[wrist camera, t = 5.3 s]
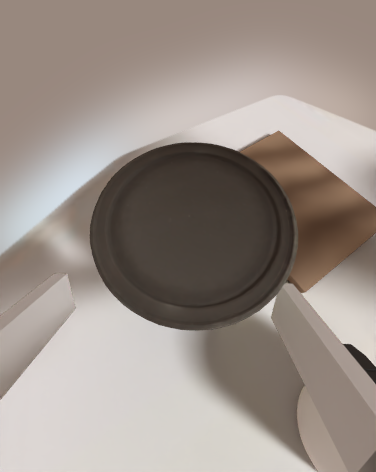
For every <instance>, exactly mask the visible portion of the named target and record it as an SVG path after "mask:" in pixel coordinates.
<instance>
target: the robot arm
mask: <svg viewBox="0 0 376 472" xmlns="http://www.w3.org/2000/svg"><path fill="white" fill-rule="evenodd" d="M75 309H76V306H75V302H74V298H73V295H72V291H71V287H70V283H69V279H68V275H67V274H64V273H55V274H53V275H52V276H51V277H49V278H48V279H47V280H46V281H44V282H43V283H42V284H40V285H39V286H38V287H37V288H35V289H34V290H33V291H31V292H30V293H29V294H28V295H26V296H25V297H24V298H23V299H21V300H20V301H19V302H17V303H16V304H15V305H14V306H12V307H11V308H10V309H8V310H7V311H6V312H5V313H3V314H2V315H1V316H0V400H1V399H2V398H3V396H4V395H5V394H6V393H7V391H8V390H9V389H10V388H11V387H12V385H13V384H14V383H15V382H16V381H17V379H18V378H19V377H20V376H21V374H22V373H23V372H24V371H25V370H26V368H27V367H28V366H29V365H30V364H31V362H32V361H33V360H34V359H35V357H36V356H37V355H38V354H39V353H40V351H41V350H42V349H43V348H44V347H45V345H46V344H47V343H48V342H49V340H50V339H51V338H52V337H53V336H54V334H55V333H56V332H57V331H58V330H59V328H60V327H61V326H62V325H63V323H64V322H65V321H66V320H67V319H68V317H69V316H70V315H71V314H72V313H73V311H74V310H75ZM271 319H272V321H273V323H274V325H275V327H276V329H277V331H278V333H279V335H280V337H281V339H282V341H283V343H284V345H285V347H286V349H287V351H288V353H289V355H290V357H291V359H292V361H293V363H294V365H295V367H296V369H297V371H298V373H299V375H300V377H301V379H302V381H303V383H304V385H305V387H306V389H307V391H308V393H309V395H310V397H311V399H312V401H313V403H314V405H315V407H316V409H317V411H318V413H319V415H320V417H321V419H322V421H323V423H324V425H325V427H326V429H327V431H328V433H329V435H330V437H331V439H332V441H333V443H334V445H335V447H336V449H337V451H338V453H339V455H340V457H341V459H342V461H343V463H344V465H345V467H346V469H347V471H348V472H376V367H375V366H374V365H373V364H372V362H371V361H370V360H369V359H368V358H367V357H366V356H365V355H364V354H363V353H361V352H360V351H359V350H357V349H356V348H355V347H354V346H352V345H351V344H342V343H341V341H340V340H339V339H338V338H337V337H336V335H335V334H334V333H333V332H332V331H331V329H330V328H329V327H328V326H327V325H326V323H325V322H324V321H323V320H322V318H321V317H320V316H319V315H318V314H317V312H316V311H315V310H314V309H313V308H312V306H311V305H310V304H309V303H308V301H307V300H306V299H305V298H304V297H303V295H302V294H301V293H300V292H299V291H298V289H297V288H296V287H295V286H294V285H293V284H291V283H285V284H284V285H283V287H282V288H281V290H280V291H279V292H278V294H277V296H276V300H275V304H274V308H273V312H272V316H271Z"/></svg>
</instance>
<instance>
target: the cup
mask: <svg viewBox="0 0 376 472" xmlns="http://www.w3.org/2000/svg"><path fill="white" fill-rule="evenodd" d="M297 422H298V428H299V433H300V436H301V440H302V443H303V445H304V448H305V450H306V452H307V454H308V456H309V458H310V460H311V461H312V463H313V465H314V466H315V468H316V469H317V471H318V472H348V471H347V469H346V467H345V465H344V463H343V461H342V459H341V457H340V455H339V453H338V451H337V449H336V447H335V445H334V443H333V441H332V439H331V437H330V435H329V433H328V431H327V429H326V427H325V425H324V423H323V421H322V419H321V417H320V415H319V413H318V411H317V409H316V407H315V405H314V403H313V401H312V399H311V397H310V395H309V393H308V391H307V389H306V387H305V386H304V387H303V389H302V391H301V393H300V396H299V399H298V405H297Z"/></svg>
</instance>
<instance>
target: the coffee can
mask: <svg viewBox="0 0 376 472" xmlns="http://www.w3.org/2000/svg"><path fill="white" fill-rule="evenodd" d="M90 244H91V249H92V255H93V258H94V261H95V264H96V267H97V270H98V272H99V274H100V276H101V278H102V279H103V281H104V283H105V285H106V286H107V288H108V289H109V290H110V291H111V293H112V294H113V295H114V296H115V297H116V298H117V299H118V300H119V301H120V302H121V303H122V304H123V305H124V306H126V307H127V308H128V309H130V310H131V311H133V312H134V313H136V314H138V315H139V316H141V317H143V318H145V319H147V320H149V321H151V322H154V323H156V324H158V325H162V326H166V327H170V328H175V329H180V330H210V329H216V328H221V327H225V326H229V325H232V324H235V323H237V322H239V321H242V320H244V319H246V318H247V317H249V316H251V315H253V314H254V313H256V312H258V311H259V310H261V309H262V308H263V307H264V306H265V305H267V304H268V303H269V302H270V301H271V300H272V299H273V298H274V297H275V296H276V295H277V294H278V292H279V291H280V290H281V288H282V287H283V285H284V284H285V282H286V281H287V279H288V277H289V275H290V273H291V271H292V268H293V265H294V262H295V259H296V254H297V248H298V227H297V221H296V217H295V213H294V210H293V207H292V204H291V202H290V200H289V198H288V196H287V194H286V192H285V191H284V189H283V188H282V186H281V185H280V184H279V182H278V181H277V180H276V179H275V177H274V176H273V175H272V174H271V173H270V172H269V171H268V170H266V169H265V168H264V167H263V166H262V165H260V164H259V163H258V162H256V161H255V160H253V159H251V158H250V157H248V156H246V155H244V154H242V153H240V152H238V151H235V150H233V149H230V148H226V147H223V146H219V145H214V144H208V143H177V144H172V145H167V146H163V147H159V148H156V149H153V150H151V151H149V152H147V153H144V154H142V155H141V156H139V157H137V158H135V159H134V160H132V161H130V162H129V163H128V164H126V165H125V166H124V167H122V168H121V169H120V170H119V171H118V172H117V173H116V174H115V175H114V176H113V177H112V178H111V180H110V181H109V182H108V184H107V185H106V187H105V188H104V190H103V191H102V193H101V195H100V197H99V199H98V201H97V204H96V206H95V209H94V212H93V216H92V220H91V225H90Z"/></svg>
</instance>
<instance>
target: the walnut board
mask: <svg viewBox="0 0 376 472" xmlns="http://www.w3.org/2000/svg"><path fill="white" fill-rule="evenodd" d="M240 153H242V154H244V155H246V156H248V157H250V158H251V159H253V160H255V161H256V162H258V163H259V164H260V165H262V166H263V167H264V168H265V169H266V170H268V171H269V172H270V173H271V174H272V175H273V176H274V177H275V179H276V180H277V181H278V182H279V184H280V185H281V186H282V188H283V189H284V191H285V192H286V194H287V196H288V198H289V200H290V202H291V204H292V207H293V210H294V213H295V217H296V221H297V227H298V248H297V254H296V259H295V262H294V265H293V268H292V271H291V273H290V275H289V277H288V279H287V280H288V281H289V282H290V283H291V284H293V285H294V286H295V287H296V288H297V289H298V291H299V292H300V293H304V292H306V291H308V290H309V289H310V288H311V287H312V286H313V285H315V284H316V283H317V282H318V281H319V280H321V279H322V278H323V277H324V276H325V275H326V274H328V273H329V272H330V271H331V270H332V269H334V268H335V267H336V266H337V265H338V264H340V263H341V262H342V261H343V260H344V259H345V258H347V257H348V256H349V255H350V254H351V253H353V252H354V251H355V250H356V249H357V248H358V247H360V246H361V245H362V244H363V243H364V242H366V241H367V240H368V239H369V238H370V237H371V236H373V235H374V234H375V233H376V207H375V206H374V205H373V204H371V203H370V202H369V201H367V200H366V199H365V198H364V197H362V196H361V195H360V194H359V193H357V192H356V191H355V190H354V189H352V188H351V187H350V186H348V185H347V184H346V183H345V182H343V181H342V180H341V179H340V178H338V177H337V176H336V175H334V174H333V173H332V172H331V171H329V170H328V169H327V168H326V167H324V166H323V165H322V164H321V163H319V162H318V161H317V160H315V159H314V158H313V157H312V156H310V155H309V154H308V153H307V152H305V151H304V150H303V149H302V148H300V147H299V146H298V145H296V144H295V143H294V142H293V141H291V140H290V139H289V138H288V137H286V136H285V135H284V134H283V133H281V132H280V131H277V132H275V133H274V134H272V135H270V136H268V137H266V138H264V139H263V140H261V141H259V142H257V143H255V144H253V145H252V146H250V147H248V148H246V149H244V150H242V151H240Z"/></svg>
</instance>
